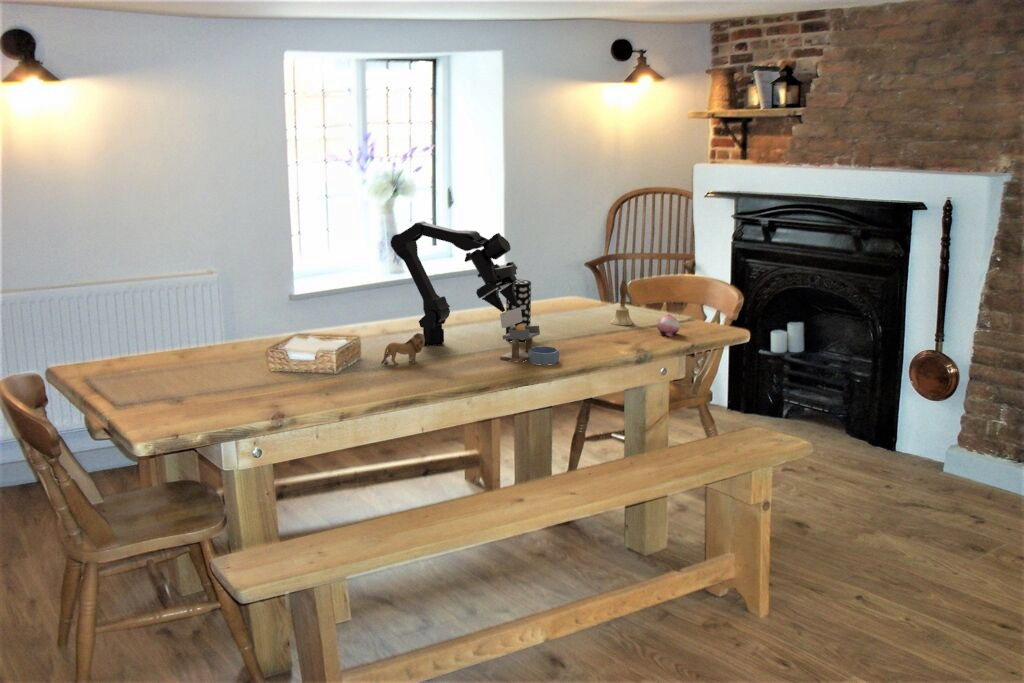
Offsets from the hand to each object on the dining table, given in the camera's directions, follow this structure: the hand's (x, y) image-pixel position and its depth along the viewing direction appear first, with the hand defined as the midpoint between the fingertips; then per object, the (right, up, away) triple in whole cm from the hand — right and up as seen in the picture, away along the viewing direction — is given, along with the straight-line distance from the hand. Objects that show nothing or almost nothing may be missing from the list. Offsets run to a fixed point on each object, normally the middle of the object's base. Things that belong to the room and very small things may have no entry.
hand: (510, 308), depth 347 cm
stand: (+3, -16, -1) cm, 16 cm away
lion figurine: (-33, -17, -8) cm, 38 cm away
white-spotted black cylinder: (+3, -10, +22) cm, 24 cm away
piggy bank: (+55, -8, +31) cm, 64 cm away
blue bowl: (+11, -17, -5) cm, 21 cm away
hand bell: (+41, -4, +47) cm, 62 cm away
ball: (+3, -7, -3) cm, 8 cm away
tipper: (+4, -9, -3) cm, 10 cm away
